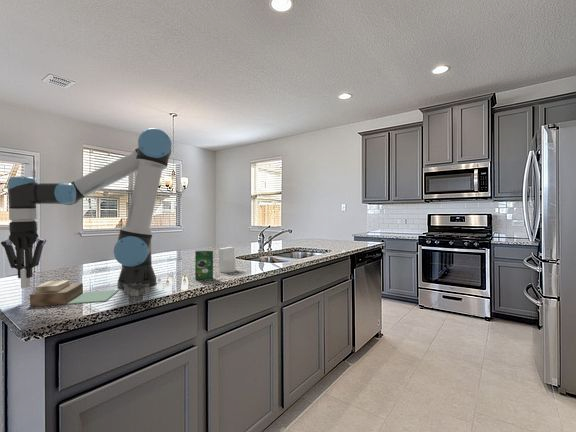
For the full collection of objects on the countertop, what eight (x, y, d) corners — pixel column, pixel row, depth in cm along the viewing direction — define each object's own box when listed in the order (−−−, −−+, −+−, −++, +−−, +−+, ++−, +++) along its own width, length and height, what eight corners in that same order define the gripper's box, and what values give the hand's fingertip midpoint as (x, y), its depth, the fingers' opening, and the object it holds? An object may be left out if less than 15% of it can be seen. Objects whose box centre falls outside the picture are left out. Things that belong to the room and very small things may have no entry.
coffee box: (213, 277, 149) (212, 249, 149) (213, 278, 147) (213, 250, 146) (195, 278, 147) (194, 250, 147) (195, 280, 144) (194, 251, 144)
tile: (69, 285, 120) (69, 280, 120) (58, 291, 111) (58, 285, 111) (48, 286, 118) (48, 281, 118) (35, 292, 110) (35, 286, 110)
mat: (118, 290, 127) (118, 289, 127) (106, 301, 112) (106, 300, 112) (85, 292, 125) (85, 291, 125) (67, 304, 109) (67, 303, 109)
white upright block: (227, 273, 160) (226, 249, 159) (214, 271, 164) (213, 248, 164) (239, 270, 167) (238, 247, 167) (226, 268, 172) (225, 246, 172)
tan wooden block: (83, 293, 123) (82, 283, 123) (67, 303, 110) (66, 292, 110) (50, 295, 121) (50, 285, 121) (30, 306, 107) (29, 294, 107)
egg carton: (151, 294, 122) (151, 283, 122) (130, 298, 117) (129, 287, 117) (142, 289, 130) (142, 279, 130) (122, 292, 125) (122, 282, 125)
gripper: (49, 220, 118) (51, 283, 118) (8, 221, 115) (10, 286, 115) (38, 220, 110) (41, 288, 111) (-6, 221, 107) (-3, 291, 108)
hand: (25, 287), depth 113 cm, fingers closed
